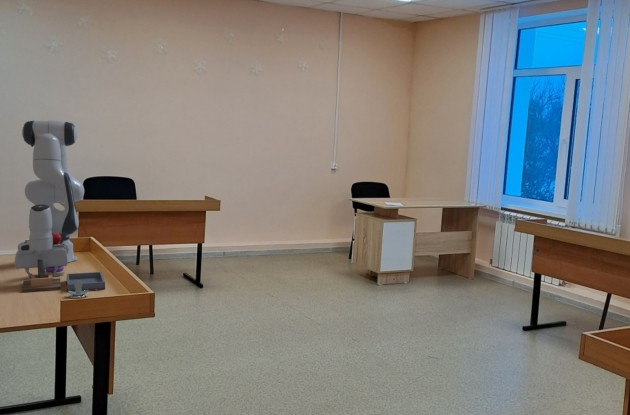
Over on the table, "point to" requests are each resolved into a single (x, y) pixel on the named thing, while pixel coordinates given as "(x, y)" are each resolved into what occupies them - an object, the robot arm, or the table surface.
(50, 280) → the light brown flat block
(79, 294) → the pacifier
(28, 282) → the post stand
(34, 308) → the table surface
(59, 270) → the stacking toy
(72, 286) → the tray
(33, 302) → the table surface
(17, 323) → the table surface
